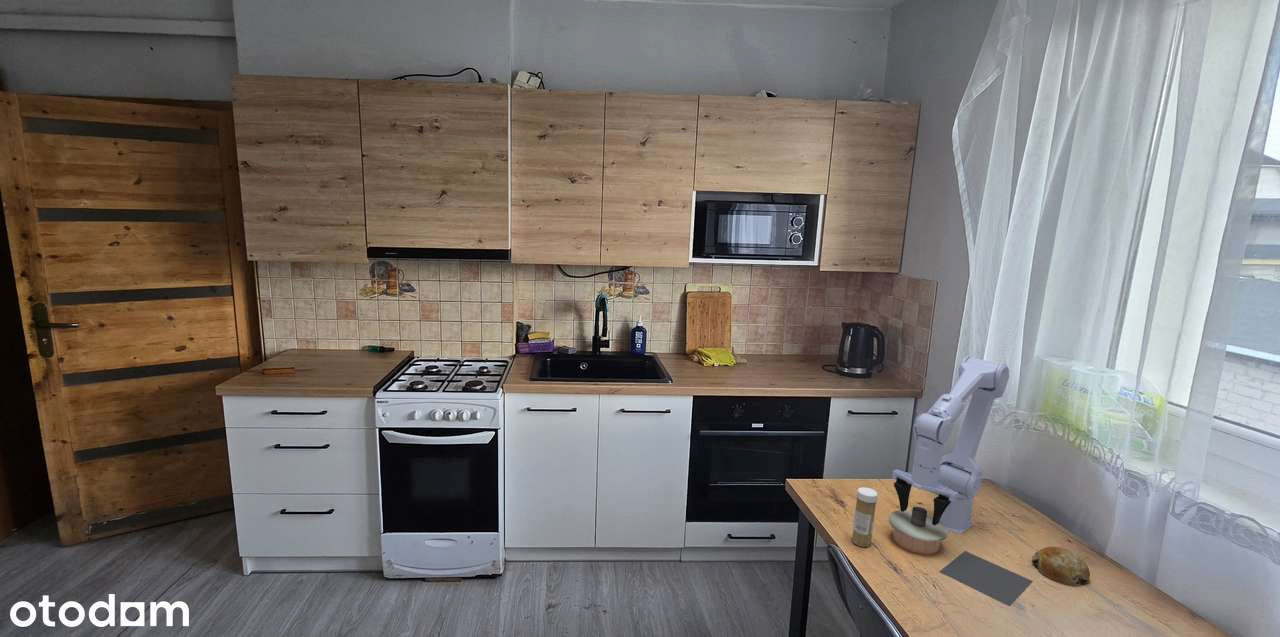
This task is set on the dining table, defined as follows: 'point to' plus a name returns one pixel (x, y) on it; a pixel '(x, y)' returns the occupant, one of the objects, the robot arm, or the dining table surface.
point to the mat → (987, 577)
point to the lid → (918, 525)
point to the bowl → (916, 543)
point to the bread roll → (1061, 566)
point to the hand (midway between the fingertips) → (919, 516)
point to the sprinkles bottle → (864, 517)
